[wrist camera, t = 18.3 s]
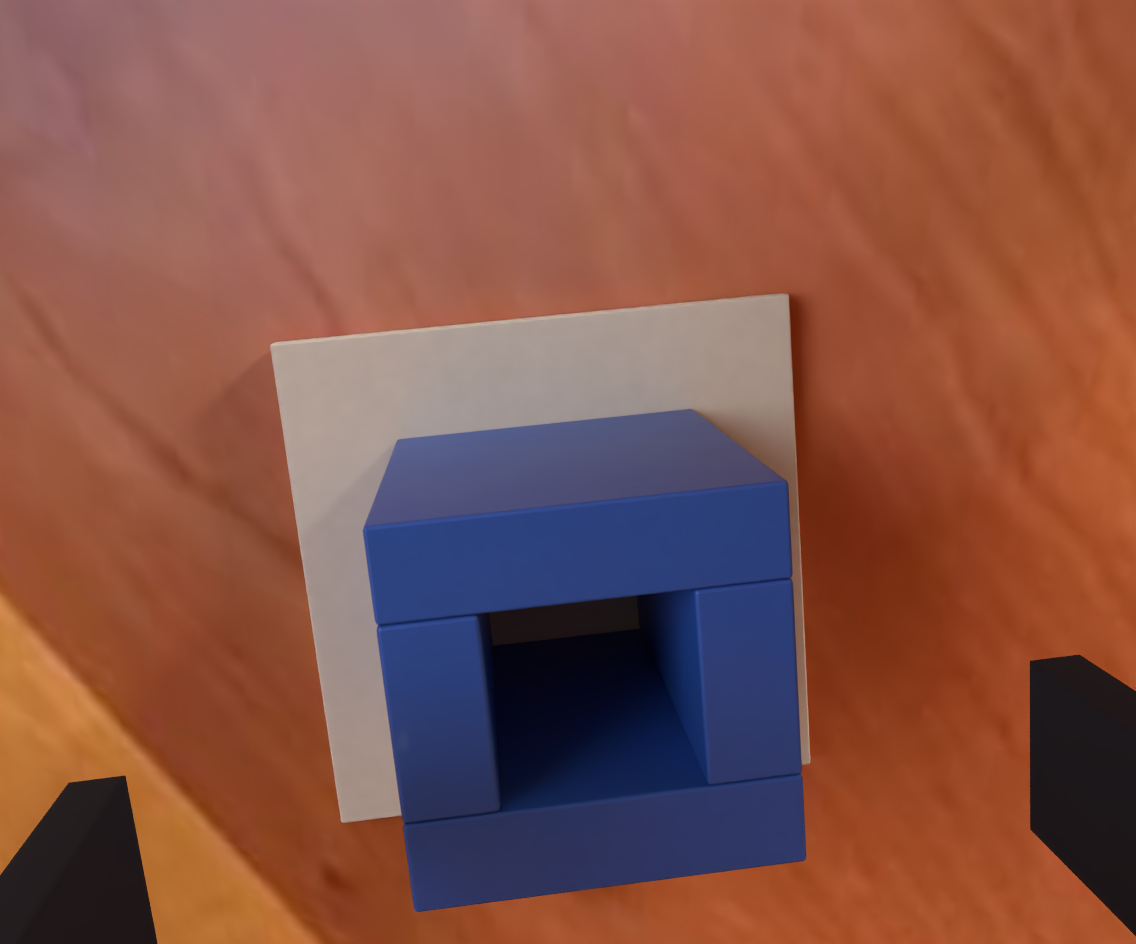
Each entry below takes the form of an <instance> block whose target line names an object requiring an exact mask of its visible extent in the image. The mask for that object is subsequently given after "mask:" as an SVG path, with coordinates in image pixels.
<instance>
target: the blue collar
mask: <svg viewBox="0 0 1136 944" xmlns="http://www.w3.org/2000/svg"><path fill="white" fill-rule="evenodd" d="M363 537H364V544H365V552H366V559H367V566H368V574H369V581H370V589H371V596H372V603H373V611H374V618H375V622H376V624H377V625H378V626H377V630H376V632H377V639H378V646H379V654H380V661H381V668H382V676H383V683H384V690H385V698H386V705H387V713H388V720H389V727H390V735H391V742H392V749H393V757H394V764H395V771H396V779H397V786H398V794H399V801H400V808H401V816H402V819H403V821H404V824H403V831H404V839H405V846H406V853H407V861H408V868H409V876H410V883H411V890H412V898H413V905H414V909H415V910H416V911H417V912H421V911H429V910H436V909H444V908H451V907H459V906H466V905H474V904H482V903H489V902H497V901H504V900H512V899H519V898H527V897H535V896H542V895H550V894H557V893H565V892H572V891H580V890H587V889H595V888H603V887H610V886H618V885H625V884H633V883H640V882H648V881H656V880H663V879H671V878H678V877H686V876H693V875H701V874H709V873H716V872H724V871H731V870H739V869H746V868H754V867H761V866H769V865H777V864H784V863H792V862H799V861H804V860H805V859H806V840H805V819H804V798H803V777H802V775H801V771H802V758H801V737H800V716H799V695H798V674H797V653H796V632H795V611H794V590H793V581H792V579H791V578H790V577H792V574H793V567H792V546H791V525H790V504H789V484H788V482H787V481H786V480H785V479H783V478H782V477H781V476H780V475H778V474H777V473H776V472H774V471H773V470H772V469H770V468H769V467H768V466H766V465H765V464H764V463H762V462H761V461H760V460H758V459H757V458H756V457H755V456H753V455H752V454H751V453H749V452H748V451H747V450H745V449H744V448H743V447H741V446H740V445H739V444H737V443H736V442H735V441H733V440H732V439H731V438H729V437H728V436H727V435H726V434H724V433H723V432H722V431H720V430H719V429H718V428H716V427H715V426H714V425H712V424H711V423H710V422H708V421H707V420H706V419H704V418H703V417H702V416H701V415H699V414H698V413H697V412H695V411H694V410H692V409H685V410H675V411H666V412H656V413H646V414H637V415H627V416H618V417H608V418H598V419H589V420H579V421H569V422H560V423H550V424H541V425H531V426H521V427H512V428H502V429H492V430H483V431H473V432H463V433H454V434H444V435H435V436H425V437H415V438H406V439H399V440H397V442H396V444H395V447H394V450H393V452H392V455H391V457H390V460H389V463H388V465H387V468H386V470H385V473H384V476H383V478H382V481H381V483H380V486H379V489H378V491H377V494H376V496H375V499H374V502H373V504H372V507H371V509H370V512H369V515H368V517H367V520H366V522H365V525H364V528H363ZM630 596H637V603H638V616H639V626H640V628H641V629H633V630H624V631H616V632H607V633H599V634H590V635H581V636H573V637H564V638H556V639H547V640H539V641H530V642H521V643H513V644H504V645H496V646H493V640H492V632H491V623H490V614H489V613H490V612H499V611H508V610H516V609H525V608H534V607H543V606H551V605H560V604H569V603H577V602H586V601H595V600H604V599H612V598H621V597H630Z"/></svg>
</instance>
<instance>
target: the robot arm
mask: <svg viewBox="0 0 1136 944" xmlns="http://www.w3.org/2000/svg"><path fill="white" fill-rule="evenodd" d="M1030 829H1031V830H1032V831H1033V832H1034V833H1035V834H1036V835H1037V837H1038V838H1039V839H1040V840H1041V841H1042V842H1043V843H1044V844H1045V845H1046V846H1047V847H1048V848H1049V849H1050V850H1051V851H1052V852H1053V853H1054V854H1055V855H1056V856H1057V857H1058V858H1059V859H1060V860H1061V861H1062V862H1063V863H1064V864H1065V865H1066V866H1067V867H1068V868H1069V869H1070V870H1071V871H1072V872H1073V873H1074V874H1075V875H1076V876H1077V877H1078V878H1079V879H1080V880H1081V881H1082V882H1083V883H1084V884H1085V885H1086V886H1087V887H1088V888H1089V889H1090V890H1091V891H1092V892H1093V893H1094V894H1095V895H1096V896H1097V897H1098V898H1099V899H1100V900H1101V901H1102V902H1103V903H1104V904H1105V905H1106V906H1107V907H1108V908H1109V909H1110V910H1111V911H1112V912H1113V913H1114V914H1115V915H1116V916H1117V917H1118V919H1119V920H1120V921H1121V922H1122V923H1123V924H1124V925H1125V926H1126V927H1127V928H1128V929H1129V930H1130V931H1131V932H1132V933H1133V934H1134V935H1135V936H1136V691H1134V690H1133V689H1131V688H1130V687H1128V686H1127V685H1125V684H1124V683H1122V682H1121V681H1119V680H1118V679H1116V678H1114V677H1113V676H1111V675H1110V674H1108V673H1107V672H1105V671H1104V670H1102V669H1101V668H1099V667H1098V666H1096V665H1094V664H1093V663H1091V662H1090V661H1088V660H1087V659H1085V658H1084V657H1082V656H1081V655H1073V656H1065V657H1057V658H1049V659H1041V660H1033V661H1030ZM0 944H157V939H156V934H155V928H154V923H153V918H152V913H151V907H150V902H149V897H148V892H147V886H146V881H145V876H144V871H143V866H142V860H141V855H140V850H139V845H138V839H137V834H136V829H135V824H134V818H133V813H132V808H131V803H130V798H129V792H128V787H127V782H126V777H125V776H119V777H111V778H103V779H95V780H87V781H79V782H72V783H68V785H67V786H66V787H65V789H64V790H63V791H62V793H61V794H60V795H59V797H58V798H57V799H56V801H55V802H54V804H53V805H52V806H51V808H50V809H49V810H48V812H47V813H46V814H45V816H44V817H43V818H42V820H41V821H40V822H39V824H38V825H37V826H36V828H35V829H34V831H33V832H32V833H31V835H30V836H29V837H28V839H27V840H26V841H25V843H24V844H23V845H22V847H21V848H20V849H19V851H18V852H17V853H16V855H15V856H14V858H13V859H12V860H11V862H10V863H9V864H8V866H7V867H6V868H5V870H4V871H3V872H2V874H1V875H0Z"/></svg>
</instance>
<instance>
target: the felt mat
mask: <svg viewBox="0 0 1136 944" xmlns="http://www.w3.org/2000/svg"><path fill="white" fill-rule="evenodd" d="M270 348H271V355H272V361H273V368H274V375H275V382H276V388H277V395H278V402H279V408H280V415H281V422H282V428H283V435H284V442H285V448H286V455H287V462H288V469H289V475H290V482H291V489H292V495H293V502H294V509H295V515H296V522H297V529H298V536H299V542H300V549H301V556H302V562H303V569H304V576H305V582H306V589H307V596H308V603H309V609H310V616H311V623H312V629H313V636H314V643H315V649H316V656H317V663H318V670H319V676H320V683H321V690H322V696H323V703H324V710H325V716H326V723H327V730H328V737H329V743H330V750H331V757H332V763H333V770H334V777H335V783H336V790H337V797H338V803H339V810H340V817H341V821H342V823H346V822H354V821H362V820H370V819H378V818H386V817H394V816H401V808H400V801H399V794H398V786H397V779H396V771H395V764H394V757H393V749H392V742H391V735H390V727H389V720H388V713H387V705H386V698H385V690H384V683H383V676H382V668H381V661H380V654H379V646H378V639H377V632H376V630H377V626H378V625H377V624H376V622H375V618H374V611H373V603H372V596H371V589H370V581H369V574H368V566H367V559H366V552H365V544H364V537H363V528H364V525H365V522H366V520H367V517H368V515H369V512H370V509H371V507H372V504H373V502H374V499H375V496H376V494H377V491H378V489H379V486H380V483H381V481H382V478H383V476H384V473H385V470H386V468H387V465H388V463H389V460H390V457H391V455H392V452H393V450H394V447H395V444H396V442H397V440H399V439H406V438H415V437H425V436H435V435H444V434H454V433H463V432H473V431H483V430H492V429H502V428H512V427H521V426H531V425H541V424H550V423H560V422H569V421H579V420H589V419H598V418H608V417H618V416H627V415H637V414H646V413H656V412H666V411H675V410H685V409H692V410H694V411H695V412H697V413H698V414H699V415H701V416H702V417H703V418H704V419H706V420H707V421H708V422H710V423H711V424H712V425H714V426H715V427H716V428H718V429H719V430H720V431H722V432H723V433H724V434H726V435H727V436H728V437H729V438H731V439H732V440H733V441H735V442H736V443H737V444H739V445H740V446H741V447H743V448H744V449H745V450H747V451H748V452H749V453H751V454H752V455H753V456H755V457H756V458H757V459H758V460H760V461H761V462H762V463H764V464H765V465H766V466H768V467H769V468H770V469H772V470H773V471H774V472H776V473H777V474H778V475H780V476H781V477H782V478H783V479H785V480H786V481H787V482H788V484H789V504H790V525H791V546H792V567H793V574H792V577H790V578H791V579H792V581H793V590H794V611H795V632H796V653H797V674H798V695H799V716H800V737H801V758H802V765H806V764H810V741H809V719H808V697H807V675H806V654H805V632H804V610H803V588H802V566H801V545H800V523H799V501H798V479H797V457H796V436H795V414H794V392H793V370H792V348H791V326H790V305H789V295H788V294H785V293H777V294H767V295H756V296H746V297H736V298H726V299H715V300H705V301H695V302H684V303H674V304H664V305H654V306H643V307H633V308H623V309H613V310H602V311H592V312H582V313H571V314H561V315H551V316H541V317H530V318H520V319H510V320H499V321H489V322H479V323H469V324H458V325H448V326H438V327H428V328H417V329H407V330H397V331H386V332H376V333H366V334H356V335H345V336H335V337H325V338H315V339H304V340H294V341H284V342H275V343H273V344H271V346H270ZM489 614H490V623H491V632H492V640H493V646H496V645H504V644H513V643H521V642H530V641H539V640H547V639H556V638H564V637H573V636H581V635H590V634H599V633H607V632H616V631H624V630H633V629H641V628H640V626H639V616H638V603H637V596H630V597H621V598H612V599H604V600H595V601H586V602H577V603H569V604H560V605H551V606H543V607H534V608H525V609H516V610H508V611H499V612H490V613H489Z"/></svg>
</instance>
